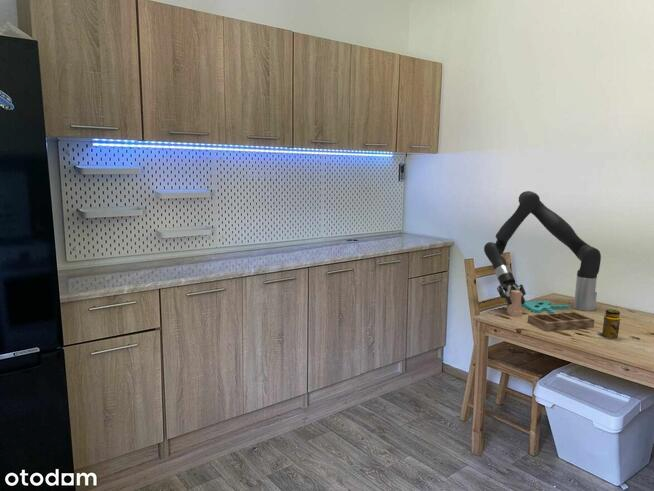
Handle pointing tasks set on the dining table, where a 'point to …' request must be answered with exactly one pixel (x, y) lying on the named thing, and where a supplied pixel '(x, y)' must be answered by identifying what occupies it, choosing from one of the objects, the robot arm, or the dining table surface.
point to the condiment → (610, 325)
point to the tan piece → (515, 303)
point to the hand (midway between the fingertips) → (517, 303)
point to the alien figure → (543, 306)
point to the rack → (560, 321)
